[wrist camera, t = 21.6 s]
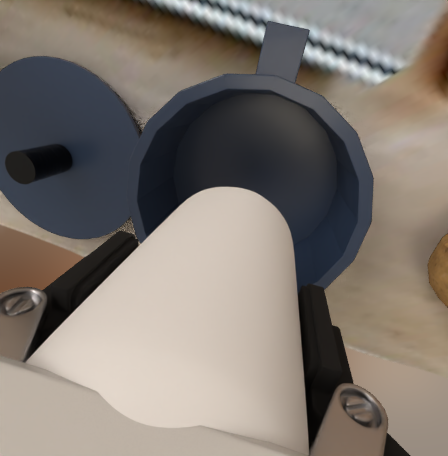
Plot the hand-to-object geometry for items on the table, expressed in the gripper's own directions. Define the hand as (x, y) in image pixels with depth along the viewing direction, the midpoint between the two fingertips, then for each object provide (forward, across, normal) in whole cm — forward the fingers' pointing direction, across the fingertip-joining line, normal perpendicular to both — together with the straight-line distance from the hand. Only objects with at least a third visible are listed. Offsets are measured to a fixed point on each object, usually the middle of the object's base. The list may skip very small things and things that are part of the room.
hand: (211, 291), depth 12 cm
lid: (+18, +19, +2) cm, 26 cm away
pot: (+18, 0, 0) cm, 18 cm away
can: (+4, 0, 0) cm, 4 cm away
